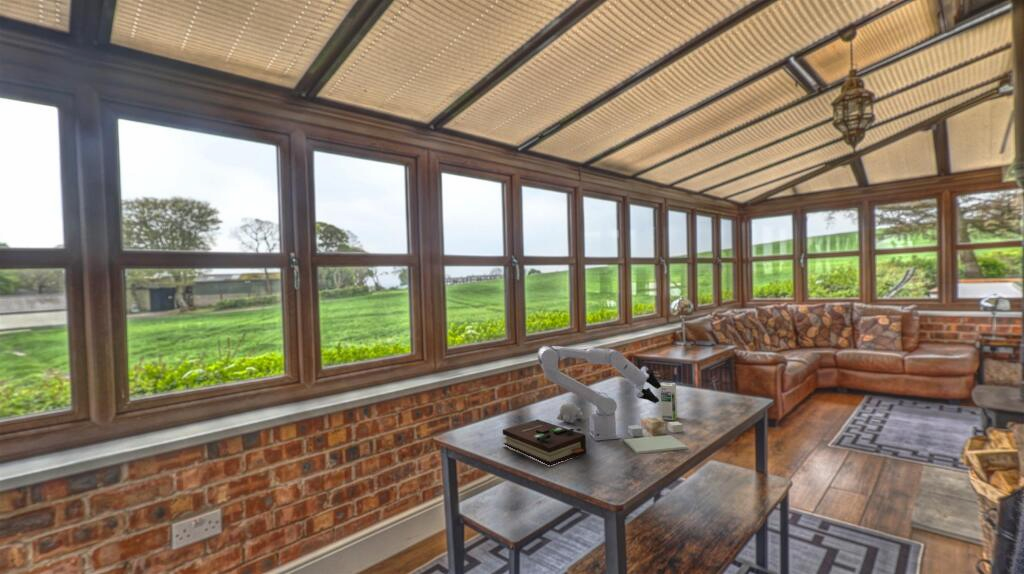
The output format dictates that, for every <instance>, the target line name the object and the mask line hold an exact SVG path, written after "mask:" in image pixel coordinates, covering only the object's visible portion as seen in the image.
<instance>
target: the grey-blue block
mask: <svg viewBox="0 0 1024 574" xmlns="http://www.w3.org/2000/svg"><path fill="white" fill-rule="evenodd" d="M627 432H628V434H629V435H630V437H632V438H634V436H637V437H643V436H644V435H643V427H642V426H641V425H638V424H635V425H628V426H627Z"/></svg>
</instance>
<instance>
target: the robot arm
mask: <svg viewBox="0 0 1024 574" xmlns="http://www.w3.org/2000/svg"><path fill="white" fill-rule="evenodd" d="M565 358H570V359H571V358H572V359H585V360H586V361H587V362H588V363H590V364H598V365H610V366H611V367H612V368H615V370H616V371H617V372H618V373H619V374H621V375H622V376H623V377H625V378H626V379H627V380H628V381H629V382H630V383H632V384H633V385H634V388H635V396H636V397H637V398H638V399H640V400H641V399H642V400H647V401H649V402H651V403H654V404H657V403H659V401H660V399H659V398H658V396H656V395H655V394H654V393H653V391H652V390H651V388H650V387H648V388H644V386H645V385H646V383H647V384H649V385H651V386H652V387H654V388H655V389H657V390H658V389H660V387H661V383H660V382H659V381H658V379H657V377H656V375H655V373H654V370H652V369H649V367H646V366H645V365H644V366H642V367H641V368H639V367H637V366H636V365H635V364H634V363H633V362H631V361H630V360H629V359H626V356H625V357H624V354H623V353H622V352H620V351H619V350H615V349H612V348H608V347H606V348H598V346H595V345H594V346H592V347H591V346H590V347H589V348H588V349H581V348H580V349H579V348H574V347H569V346H567V347H566V346H558V345H551V346H549V345H544V346H541V347H540V348H539V349H538V351H537V359H538V363H539V366H540V367H541V369H542V370H543V373H544V375H545V376H546V379H548V380H549V382H552V383H554V384H556V385H558V386H559V387H561V388H563V389H565V390H567V391H569V392H571V393H572V394H574V395H576V396H578V397H580V399H581V398H582V399H583V400H585V401H587V402H588V403H590V404H592V405H593V406H595V407H596V409H595V412H594V413H591V414H590V415H589V418H588V419H589V435H590V436H591V437H592V438H593V439H594V441H596V442H597V441H607V440H616V439H619V440H620V439H621V436H620V435H618V433H617V426H616V425H617V424H616V421H617V420H616V411H617V408H618V407H617V406H618V404H617V401H616V400H615V399H614V398H612V397H610V396H609V394H607V393H605V392H604V391H603V392H602V391H601V392H600V391H597V390H595V389H593V388H591V387H588V385H585V384H583V383H582V382H579V380H578V381H577V380H576V379H574V378H572V377H570V376H568V375H567V374H566V373H564V372H561V371H560V368H559V361H560V362H561V361H563V360H564V359H565Z"/></svg>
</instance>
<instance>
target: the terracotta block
mask: <svg viewBox="0 0 1024 574" xmlns="http://www.w3.org/2000/svg"><path fill="white" fill-rule="evenodd" d="M640 424H641V425H640V427H641V428H642V429H644V430H646V418H641V419H640Z"/></svg>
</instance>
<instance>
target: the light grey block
mask: <svg viewBox="0 0 1024 574" xmlns="http://www.w3.org/2000/svg"><path fill="white" fill-rule="evenodd" d="M667 430H668V431H669V432H671V433H672V434H676V433H677V432H678V433H683V431H684V428H683V423H681V422H679V421H678V420H677V421H668V422H667Z"/></svg>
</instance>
